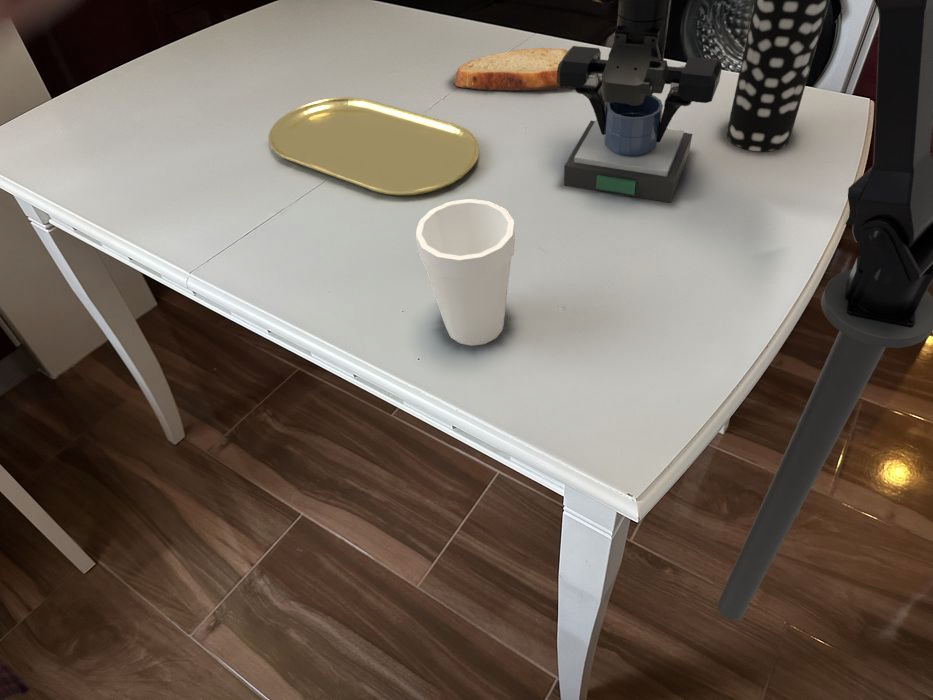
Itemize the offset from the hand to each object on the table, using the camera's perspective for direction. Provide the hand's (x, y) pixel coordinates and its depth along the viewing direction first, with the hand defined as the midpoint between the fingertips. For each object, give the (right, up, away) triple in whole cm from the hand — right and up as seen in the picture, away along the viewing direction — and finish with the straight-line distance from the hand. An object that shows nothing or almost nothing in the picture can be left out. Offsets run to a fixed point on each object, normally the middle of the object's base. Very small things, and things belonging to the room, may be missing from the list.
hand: (631, 137), depth 89 cm
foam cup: (-20, -25, -14) cm, 35 cm away
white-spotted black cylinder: (+19, +2, +7) cm, 20 cm away
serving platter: (-35, +2, +13) cm, 38 cm away
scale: (0, -3, +4) cm, 5 cm away
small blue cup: (0, -1, +1) cm, 1 cm away
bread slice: (-12, +17, +24) cm, 32 cm away
